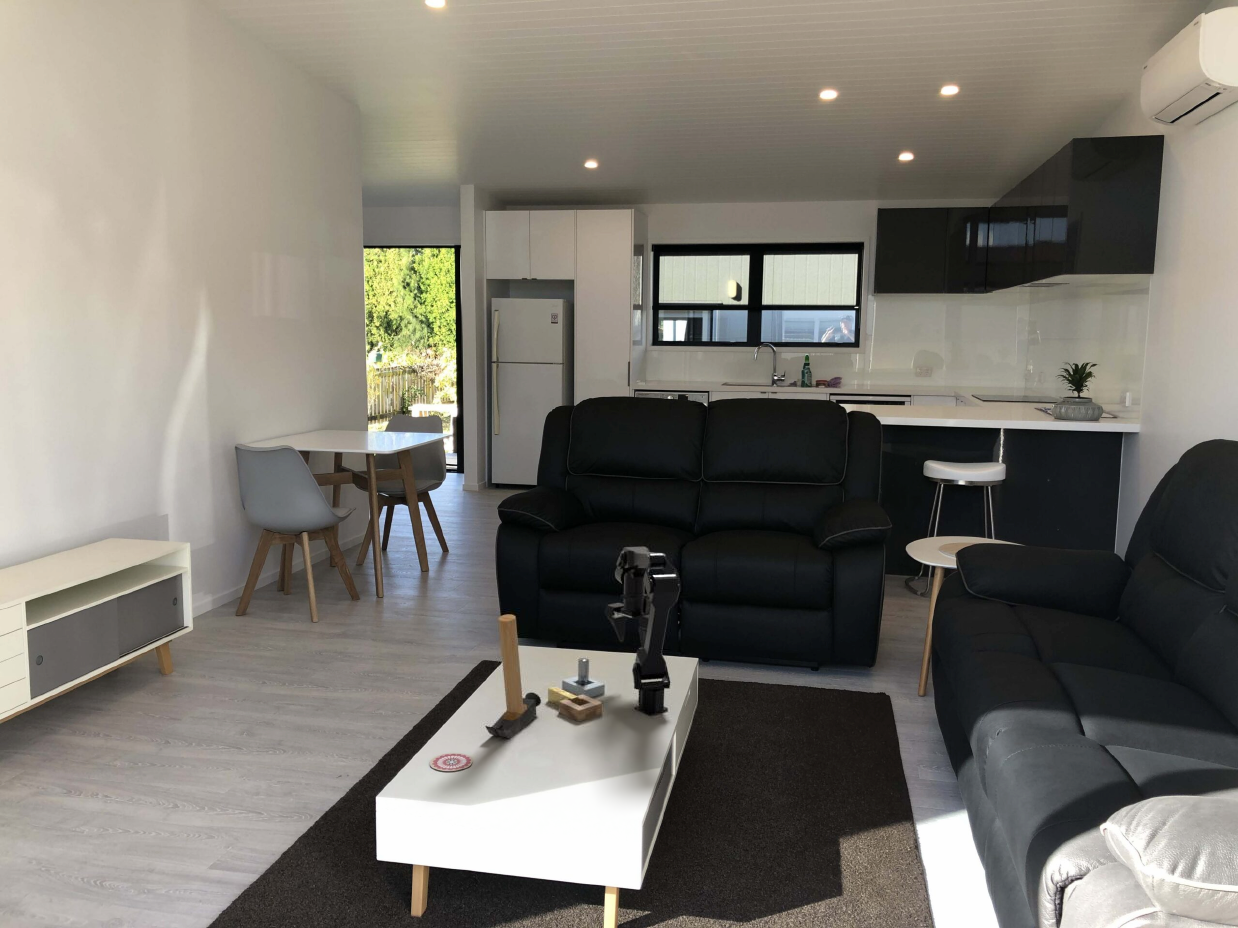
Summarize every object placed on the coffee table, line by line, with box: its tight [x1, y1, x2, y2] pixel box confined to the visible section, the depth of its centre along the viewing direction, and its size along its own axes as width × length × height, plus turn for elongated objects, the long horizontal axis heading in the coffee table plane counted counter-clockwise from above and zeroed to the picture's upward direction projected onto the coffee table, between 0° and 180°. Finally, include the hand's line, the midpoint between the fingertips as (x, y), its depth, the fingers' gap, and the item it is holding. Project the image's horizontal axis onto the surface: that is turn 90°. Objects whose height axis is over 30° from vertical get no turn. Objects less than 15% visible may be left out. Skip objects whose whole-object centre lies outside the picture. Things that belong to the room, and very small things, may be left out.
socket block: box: [558, 694, 603, 723], centre depth 239 cm, size 8×8×3 cm
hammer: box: [485, 613, 542, 739], centre depth 226 cm, size 20×5×30 cm, turn 158°
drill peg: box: [577, 657, 590, 686], centre depth 255 cm, size 3×3×9 cm
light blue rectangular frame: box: [561, 675, 606, 698], centre depth 256 cm, size 10×7×2 cm
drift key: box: [547, 686, 578, 706], centre depth 245 cm, size 10×2×4 cm, turn 42°
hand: (632, 645), depth 259 cm, fingers open, 9 cm apart
